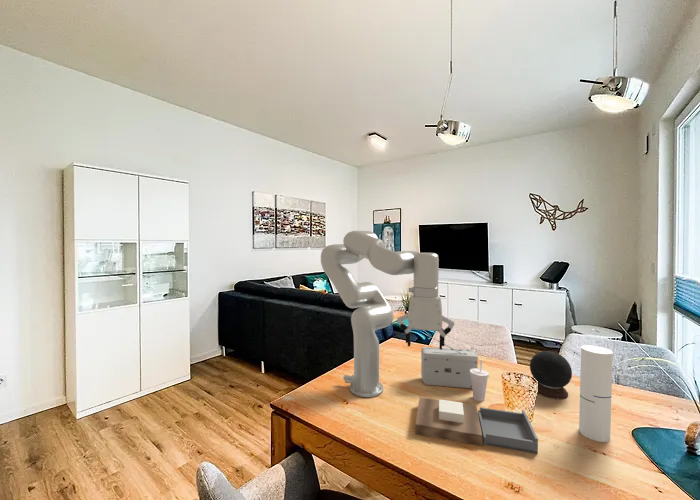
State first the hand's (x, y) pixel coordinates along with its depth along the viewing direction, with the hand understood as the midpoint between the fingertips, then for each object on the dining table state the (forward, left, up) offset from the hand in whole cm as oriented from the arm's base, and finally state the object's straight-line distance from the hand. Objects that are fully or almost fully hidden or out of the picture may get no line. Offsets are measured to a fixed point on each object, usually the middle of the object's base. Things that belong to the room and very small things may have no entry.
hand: (424, 346), depth 96 cm
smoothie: (+18, +19, -24) cm, 35 cm away
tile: (+8, 0, -20) cm, 22 cm away
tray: (+23, 0, -23) cm, 33 cm away
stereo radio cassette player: (+8, +28, -24) cm, 37 cm away
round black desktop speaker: (+44, +32, -24) cm, 59 cm away
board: (+7, 0, -23) cm, 24 cm away
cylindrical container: (+48, +7, -24) cm, 54 cm away
